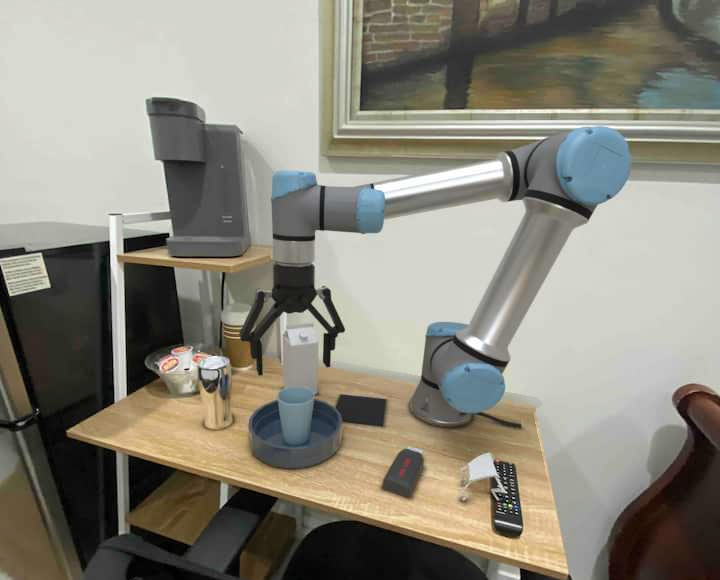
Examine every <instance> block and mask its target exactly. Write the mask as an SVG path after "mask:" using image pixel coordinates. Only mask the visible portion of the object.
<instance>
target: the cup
mask: <svg viewBox="0 0 720 580" xmlns="http://www.w3.org/2000/svg"><path fill="white" fill-rule="evenodd" d="M315 397H316V394H315V393H314V392H313V391H312V390H311V389H309V388H306V387H301V386H293V387H288V388H285V389H284V388H282V389H280V391H278V392H277V393H276V400H278V406H279V413H280V420H281V426H282V433H283V439H284V441H285V442H286V443H288V444H291V445H299V444H303V443H305V442H306V441H307V440H308V439H309V434H310V427H311V419H312V412H313V405H314V398H315ZM315 399H316V398H315Z"/></svg>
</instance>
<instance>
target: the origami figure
mask: <svg viewBox="0 0 720 580" xmlns="http://www.w3.org/2000/svg"><path fill="white" fill-rule="evenodd" d="M491 454H492V452H486V453H484V454H481V455H478V456H476V457H474V458H473V459H472V460H471V461H469V462H467V463H466V465H465V466H463V467H461V468H460V473H461V475H462V477H463V479H464V482H463V483H462V485H463V487H461V489H460V490H458V492H457V494H459V495H462V496H463V497H462V498H461V501H465V500H466V499H467V498H469V494H466V493H464V491H466V490H467V488H468V487H469V485H470V484H471V483H474V482H478V481H481V480H485V479H490V478H494V479H495V480H496V482H497V483H498V485H499V488H498V487H496V488H490V491H491V493H492V494H493V497H494V498H495V499H496V501H500V499H499V496H498V495H497V494H496V493H502V494H507V491H506V488H505V487H504V485H503V484H502V482H501V481H500V475H499V473H498V471H497V469H496V467H495V464H494V462H495V458H494V457H493V456H492V455H491ZM466 469H467V475H468V479H467V477H466V474H465V472H464V471H465V470H466Z"/></svg>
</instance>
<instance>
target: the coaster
mask: <svg viewBox="0 0 720 580" xmlns="http://www.w3.org/2000/svg"><path fill="white" fill-rule="evenodd" d="M386 402H387V399H386V398H380V397H379V398H377V397H371V396H370V397H369V396H360V395H353V394H344V393H340V395H339V397H338V400H337V403H336V406H335V408H336V409H337V410H338V411H339V412H340V414H341V417H342V421H343V423H351V424H361V425H369V426H377V427H384V425H383V424H384V418H385V408H386Z"/></svg>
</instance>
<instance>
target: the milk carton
mask: <svg viewBox="0 0 720 580" xmlns="http://www.w3.org/2000/svg"><path fill="white" fill-rule="evenodd" d="M285 328H286V329H285V330H284V333H282V386H283V389H285V388H288V387H293V386H301V387H306V388H309V389H311V390H312V391H313V392H314V393H315V395H318V391H319V390H318V385H319V376H318V375H319V339H318V336H317V333H316V330H315V327H314V322H306V323H305V322H304V323H295V324H286V327H285Z"/></svg>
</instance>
